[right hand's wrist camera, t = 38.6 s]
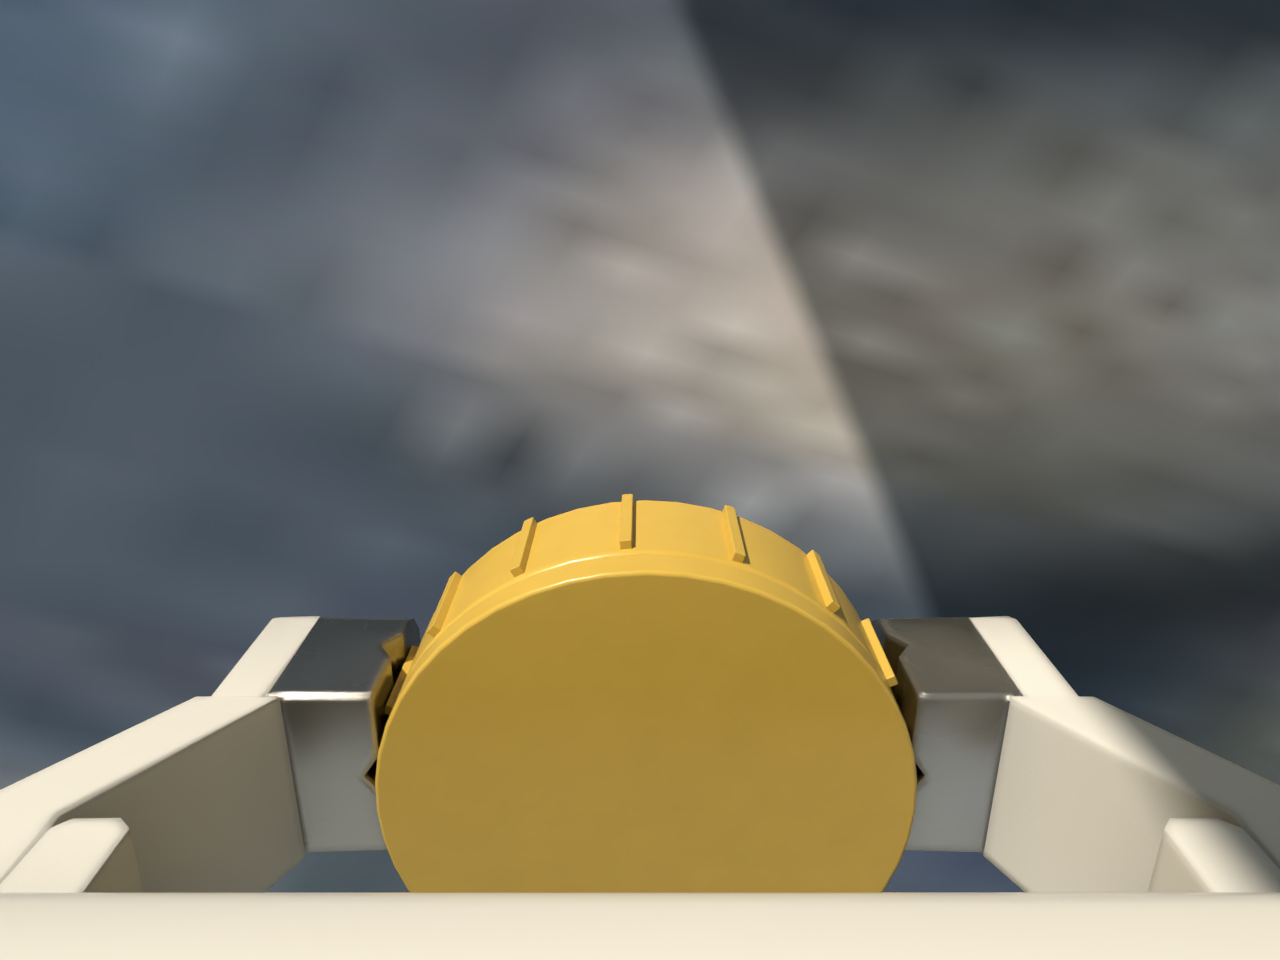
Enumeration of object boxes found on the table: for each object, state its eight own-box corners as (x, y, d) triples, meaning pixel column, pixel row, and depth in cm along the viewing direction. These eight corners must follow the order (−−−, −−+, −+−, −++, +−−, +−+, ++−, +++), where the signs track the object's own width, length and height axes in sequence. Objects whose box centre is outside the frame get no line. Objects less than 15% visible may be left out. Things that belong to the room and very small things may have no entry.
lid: (832, 438, 9) (871, 502, 7) (914, 837, 10) (958, 953, 9) (337, 562, 9) (280, 647, 8) (498, 922, 11) (476, 1045, 10)
